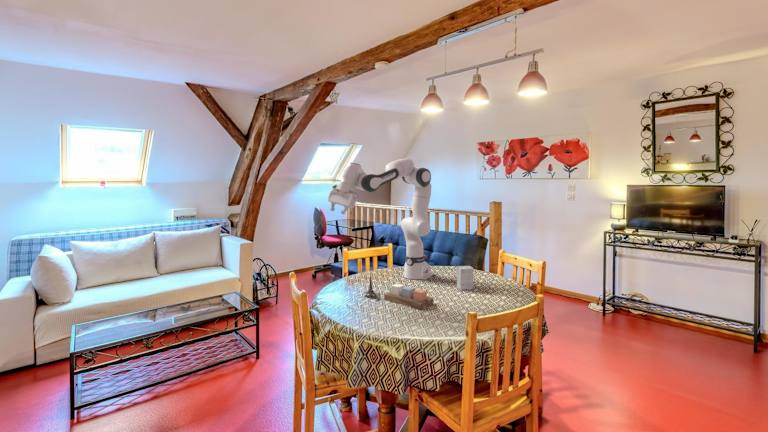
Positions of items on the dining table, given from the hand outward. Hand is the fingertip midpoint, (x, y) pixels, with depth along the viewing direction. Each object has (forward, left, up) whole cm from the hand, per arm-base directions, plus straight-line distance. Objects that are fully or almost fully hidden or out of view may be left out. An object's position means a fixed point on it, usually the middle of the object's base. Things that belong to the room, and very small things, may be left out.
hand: (337, 212), depth 226 cm
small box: (-54, +53, -47) cm, 89 cm away
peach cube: (-13, +49, -44) cm, 67 cm away
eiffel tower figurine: (-6, +21, -47) cm, 52 cm away
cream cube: (-13, +34, -44) cm, 57 cm away
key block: (-13, +41, -46) cm, 63 cm away
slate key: (-13, +41, -44) cm, 62 cm away
